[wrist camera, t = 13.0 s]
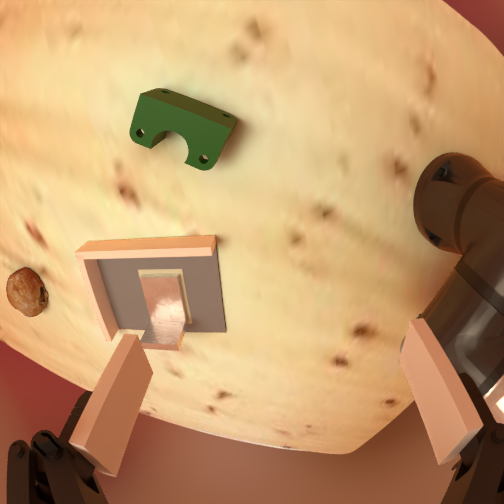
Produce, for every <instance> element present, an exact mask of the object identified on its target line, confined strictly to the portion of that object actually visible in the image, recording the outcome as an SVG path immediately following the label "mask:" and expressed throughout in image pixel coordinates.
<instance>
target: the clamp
mask: <svg viewBox="0 0 504 504" xmlns="http://www.w3.org/2000/svg"><path fill="white" fill-rule="evenodd" d="M236 122H237V118H236V117H234V116H233V115H231V114H229V113H226V112H224V111H222V110H219V109H217V108H214V107H212V106H209V105H207V104H204V103H202V102H199V101H197V100H194V99H192V98H189V97H186V96H184V95H181V94H178V93H175V92H173V91H170V90H167V89H161V88H156V89H153V90H150V91H147V92H144V93H141V94H140V96H139V100H138V103H137V106H136V110H135V113H134V117H133V120H132V124H131V127H130V137H131V139H132V140H133V141H134V142H135V143H137V144H140V145H142V146H145V147H147V148H150V149H151V148H153V147H154V146H155V145H157V144H158V143H159V142H161V141H162V140H163V139H164V138H165V136H166V132H167V130H168V131H174V132H177V133H179V134H180V135H181V136H182V137H183V138H184V139H185V140H186V142H187V145H188V149H189V153H188V157H187V160H186V161H185V163H186V164H188V165H190V166H193V167H195V168H197V169H200V170H204V171H205V170H209V169H211V168H212V167H213V166H214V165H215V163H216V162H217V160H218V158H219V156H220V153H221V151H222V149H223V147H224V144H225V142H226V141H227V139H228V138H229V137H230V135H231V133H232V131H233V129H234V127H235V125H236ZM141 129H142V130H143V131H144V134H143V133H142V131H141ZM202 155H206V156H207V157H208V160H206V159H204V158H203V156H202Z"/></svg>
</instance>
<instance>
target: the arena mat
mask: <svg viewBox="0 0 504 504" xmlns="http://www.w3.org/2000/svg"><path fill="white" fill-rule="evenodd" d="M97 262H98V266H99V269H100V273H101V276H102V280H103V283H104V286H105V289H106V293H107V296H108V299H109V302H110V305H111V308H112V311H113V314H114V316H115V319H116V322H117V325H118V328H119V329H133V330H146V328H147V326H148V324H149V322H150V320H151V318H150V315H149V311H148V308H147V304H146V300H145V297H144V293H143V289H142V285H141V281H140V277H141V275H142V274H175V273H179V277H180V282H181V288H182V293H183V298H184V303H185V308H186V313H187V318H188V324H187V327H186V330H185V332H226V326H225V318H224V310H223V302H222V293H221V285H220V276H219V267H218V257H217V248H216V245H215V248H214V251H213V254H212V256H188V257H152V258H115V259H97Z"/></svg>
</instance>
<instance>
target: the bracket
mask: <svg viewBox="0 0 504 504" xmlns="http://www.w3.org/2000/svg"><path fill="white" fill-rule="evenodd" d="M140 281H141V285H142V289H143V293H144V297H145V300H146V304H147V308H148V311H149V315H150V318H151V320H150V322H149V324H148V326H147V328H146V330H145V332H144V334H143V336H142V339H141V341H140V342H141V345H142V347H143V348H144V349H158V350H176V351H179V349H180V346H181V343H182V340H183V337H184V333H185V330H186V327H187V324H188V318H187V313H186V308H185V303H184V298H183V293H182V288H181V282H180V277H179V273H175V274H142V275H141V277H140Z"/></svg>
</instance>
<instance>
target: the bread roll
mask: <svg viewBox="0 0 504 504" xmlns="http://www.w3.org/2000/svg"><path fill="white" fill-rule="evenodd" d="M6 291H7V297H8V300H9V302H10V304H11V305H12V306H13V307H14V308H15V309H18V310H19V311H20V312H22V313H23V314H24V315H25V316H27V317H34V316H37V315H38V314H40V313H41V312H42V311H43V309H44V307H45V305H46V304H47V298H48V293H47V291H46V290H45V288H44V286H43V284H42V282H41V281H40V279H39V277H38V276H37V274H36V273H35V272H34V271H32V270H31V269H28V268H25V267H24V268H22V269H20V270H17V271H16V272H15V273H13V274H12V275H10V277H9V278H8V281H7V287H6Z"/></svg>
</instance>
